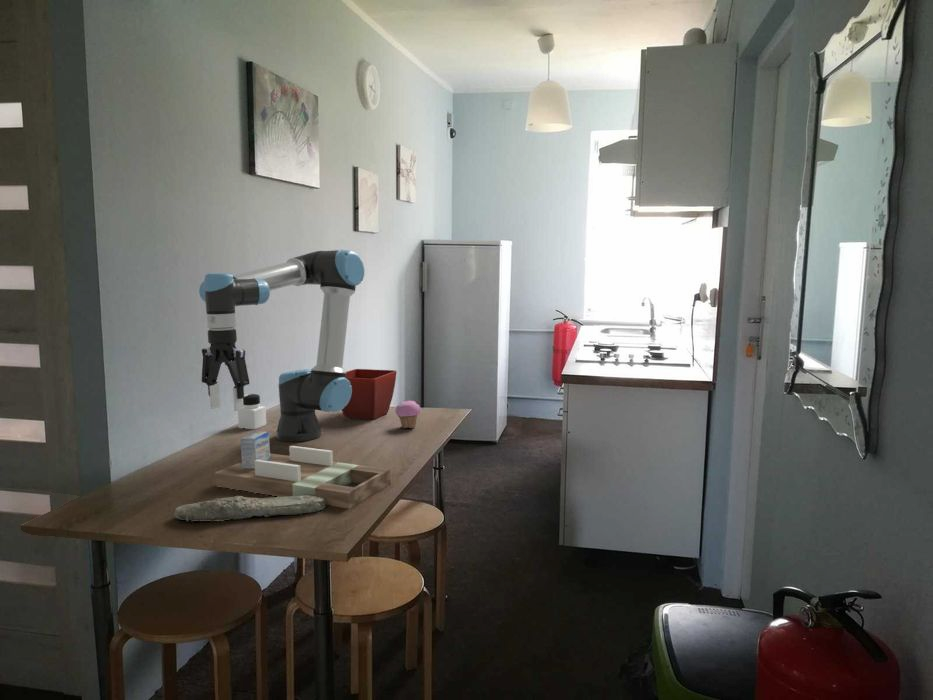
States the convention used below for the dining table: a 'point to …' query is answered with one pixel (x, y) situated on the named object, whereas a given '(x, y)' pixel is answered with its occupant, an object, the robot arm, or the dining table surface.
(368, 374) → the plant pot
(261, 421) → the medicine bottle
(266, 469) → the channel walls
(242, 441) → the medicine box
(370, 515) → the dining table surface
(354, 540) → the dining table surface
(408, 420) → the cupcake
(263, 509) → the elongated rock
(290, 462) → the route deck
